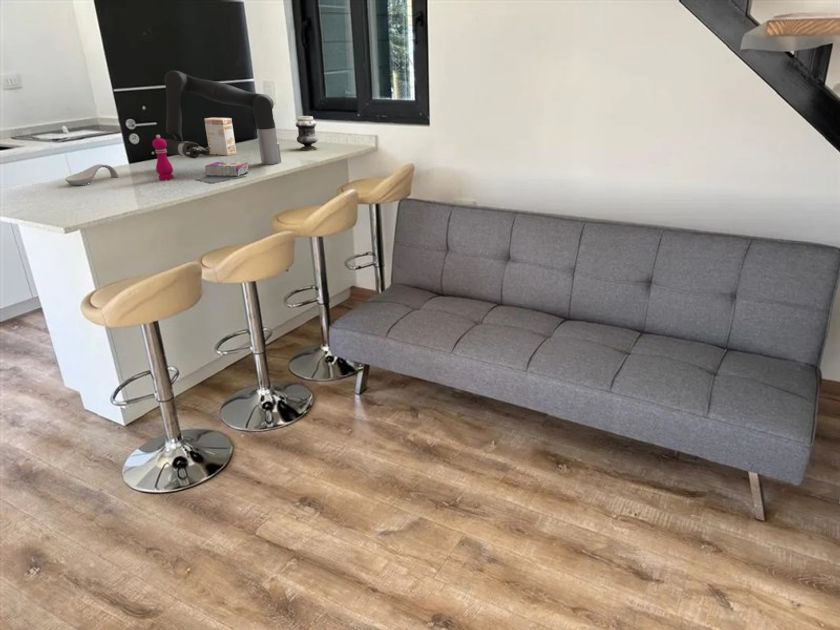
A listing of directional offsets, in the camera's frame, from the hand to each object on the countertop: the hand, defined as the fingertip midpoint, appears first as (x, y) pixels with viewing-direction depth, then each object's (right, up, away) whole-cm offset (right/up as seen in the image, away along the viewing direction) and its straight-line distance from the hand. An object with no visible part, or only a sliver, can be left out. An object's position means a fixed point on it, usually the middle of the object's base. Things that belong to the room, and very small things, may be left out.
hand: (207, 152), depth 287 cm
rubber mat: (+7, -13, -3) cm, 15 cm away
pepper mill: (-19, -12, 0) cm, 23 cm away
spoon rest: (-53, -14, -1) cm, 55 cm away
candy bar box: (0, -6, +5) cm, 8 cm away
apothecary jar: (+34, +20, +70) cm, 80 cm away
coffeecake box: (-13, +16, +63) cm, 66 cm away
